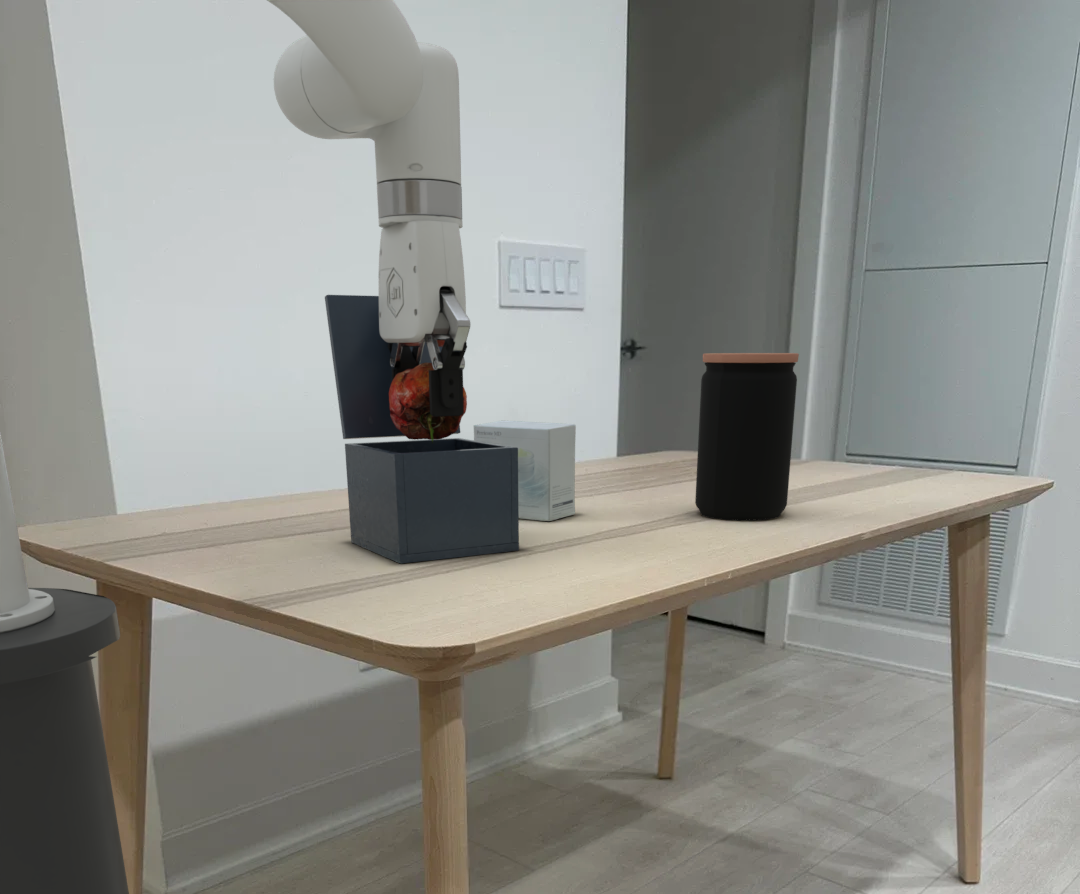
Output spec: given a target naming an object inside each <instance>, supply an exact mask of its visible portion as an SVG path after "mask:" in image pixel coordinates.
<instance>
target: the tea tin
mask: <svg viewBox="0 0 1080 894" xmlns="http://www.w3.org/2000/svg"><path fill="white" fill-rule="evenodd" d="M344 449H345V450H344V454H345V466H346V482H347V483H346V484H347V498H348V512H349V515H348V516H349V526H350V528H349V529H350V540H351V541H350V543H352V544H354V545H356V546H359V547H361V548H363V549H365V550H368V551H370V552H373V553H374V554H377V555H379V556H382V557H384V558H386V559H388V560H391V561H393V562H396V563H398V564H400V565H401V564H409V563H420V562H428V561H437V560H446V559H454V558H465V557H475V556H482V555H492V554H499V553H508V552H517V551H520V529H519V528H520V525H519V521H520V518H519V511H518V448H517V447H511V446H505V445H499V444H493V443H486V442H480V441H474V439H468V438H467V439H466V438H461V437H454V438H453V437H452V438H451V437H450V438H442V439H433V444H432V440H431V439H418V440H417V439H415V440H414V439H408V440H391V441H390V440H389V441H370V442H369V441H367V442H351V443H350V442H349V443H344Z"/></svg>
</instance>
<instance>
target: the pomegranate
mask: <svg viewBox="0 0 1080 894" xmlns="http://www.w3.org/2000/svg"><path fill="white" fill-rule="evenodd" d="M428 370H434V369H433V366H432V363H422V364H419V365H418V366H416V367H415V368H414V369H407V370H405V371H403V372H401V373H398V374H397V375H396V376H395V377H394V379H393V381H392V383H391V386H390V390H389V403H390V416H391V419H392V421H393V423H394V425H395V426H396V428H397V429H398V430H400V431H401V432H402V433H403V434H404V435H405V436H404V437H405V438H407V440H429V439H431V440H432V444H433V439H447V438H448V437H450V436H452V435H454V434H453V433H455V432H456V431H457V429H458V427H459V424H461V422H462V418H463V416H464V415H465V414H466V412H467V409H468V408H467V407H468V401H467V398H468V396H467V392H466V389H465V387H464V386H463V399H464V413H463V415H461V416H439V417H436V416H432V415H431V414H430V398H429V371H428Z"/></svg>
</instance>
